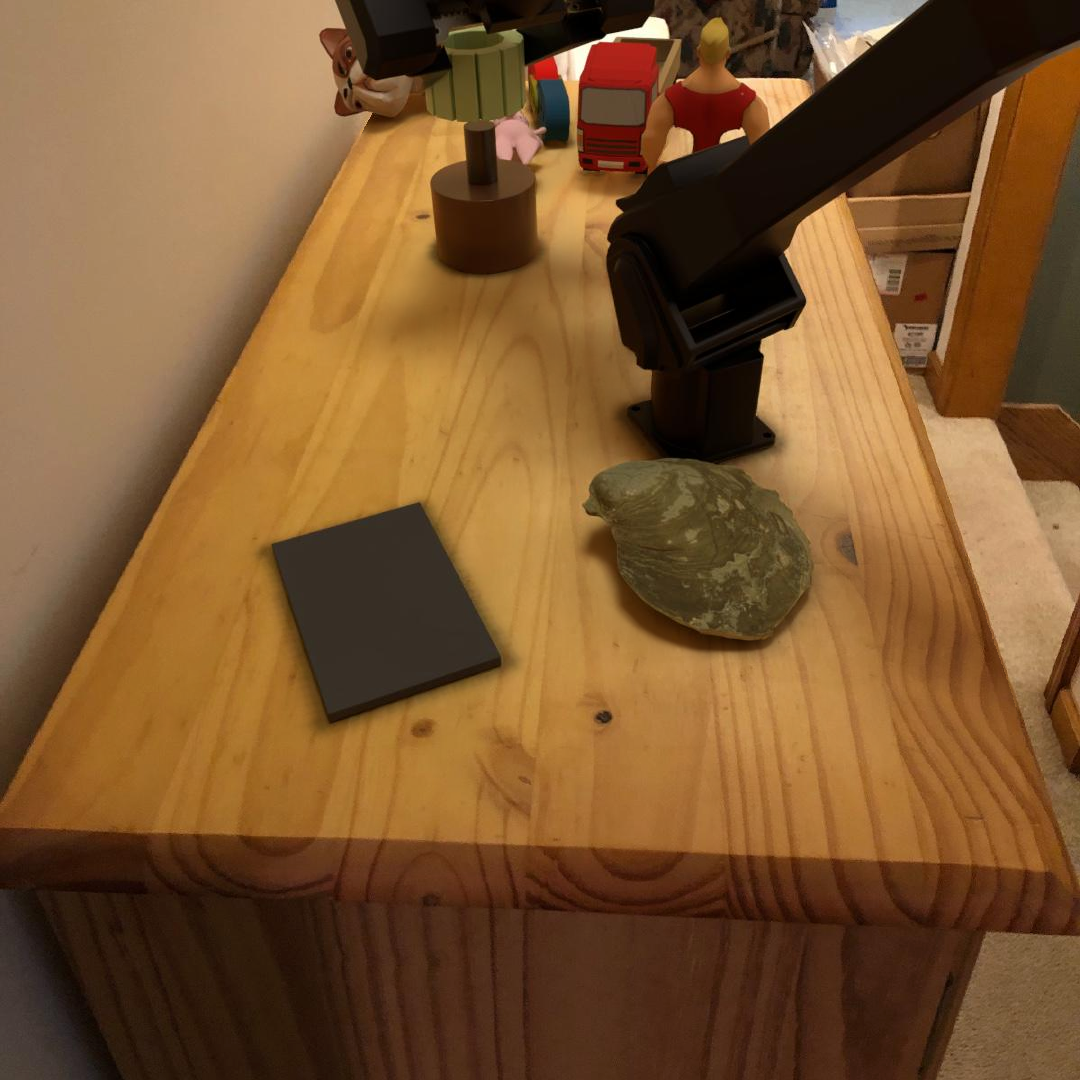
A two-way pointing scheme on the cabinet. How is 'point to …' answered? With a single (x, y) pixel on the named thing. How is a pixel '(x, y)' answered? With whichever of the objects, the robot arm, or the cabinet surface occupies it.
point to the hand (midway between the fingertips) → (466, 73)
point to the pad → (381, 610)
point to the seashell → (704, 544)
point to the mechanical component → (549, 100)
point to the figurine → (362, 81)
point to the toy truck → (621, 100)
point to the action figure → (705, 102)
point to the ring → (480, 77)
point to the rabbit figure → (517, 139)
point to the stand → (484, 207)
